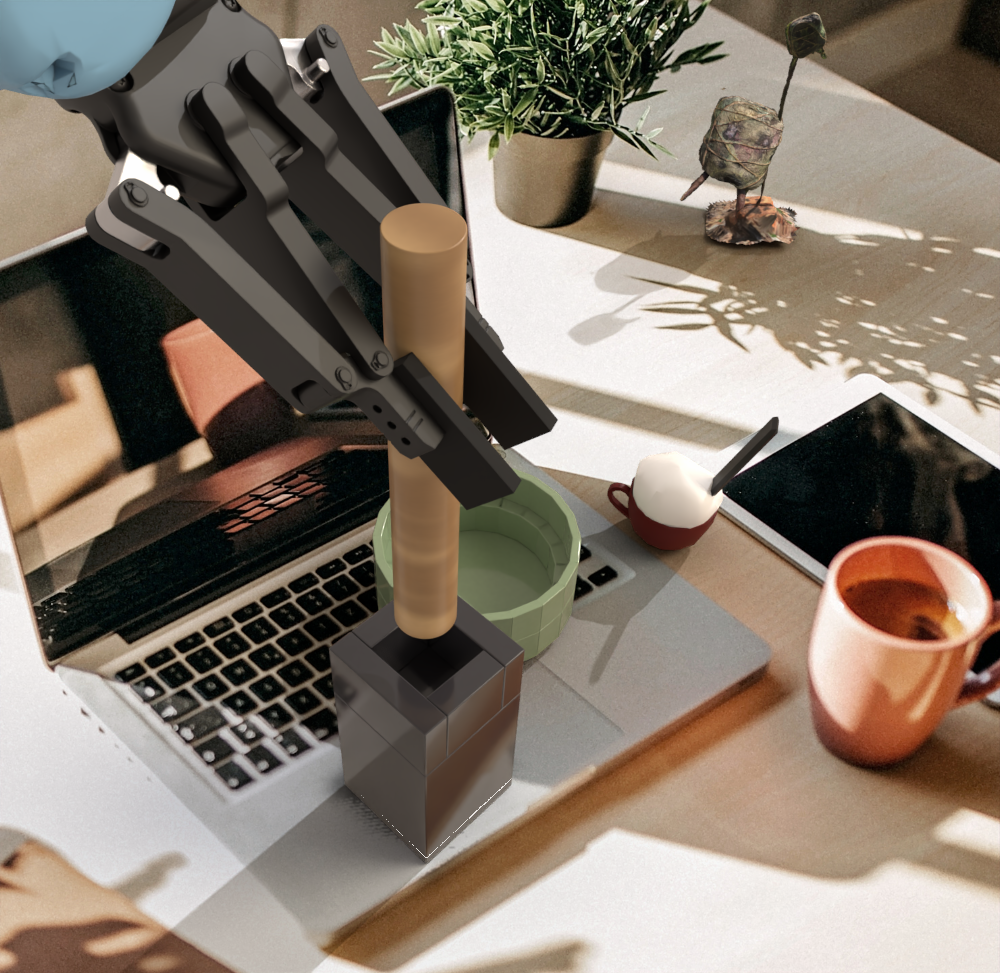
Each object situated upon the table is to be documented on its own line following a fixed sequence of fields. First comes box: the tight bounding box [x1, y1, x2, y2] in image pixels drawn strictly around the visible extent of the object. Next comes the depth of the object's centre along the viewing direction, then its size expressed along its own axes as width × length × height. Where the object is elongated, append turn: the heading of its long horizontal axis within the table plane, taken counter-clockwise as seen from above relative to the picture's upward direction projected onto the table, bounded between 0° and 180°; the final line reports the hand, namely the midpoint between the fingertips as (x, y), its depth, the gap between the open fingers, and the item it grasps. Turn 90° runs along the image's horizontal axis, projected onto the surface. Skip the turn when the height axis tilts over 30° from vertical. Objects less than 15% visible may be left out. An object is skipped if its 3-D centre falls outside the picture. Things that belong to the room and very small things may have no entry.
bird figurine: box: [679, 11, 828, 246], centre depth 101 cm, size 8×11×20 cm
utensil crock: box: [328, 595, 525, 865], centre depth 63 cm, size 7×7×14 cm
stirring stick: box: [380, 203, 469, 639], centre depth 47 cm, size 3×3×22 cm
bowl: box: [371, 466, 582, 662], centre depth 75 cm, size 13×13×6 cm
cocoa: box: [606, 416, 780, 551], centre depth 78 cm, size 10×6×12 cm, turn 54°
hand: (512, 463), depth 45 cm, fingers closed on stirring stick, 3 cm apart
